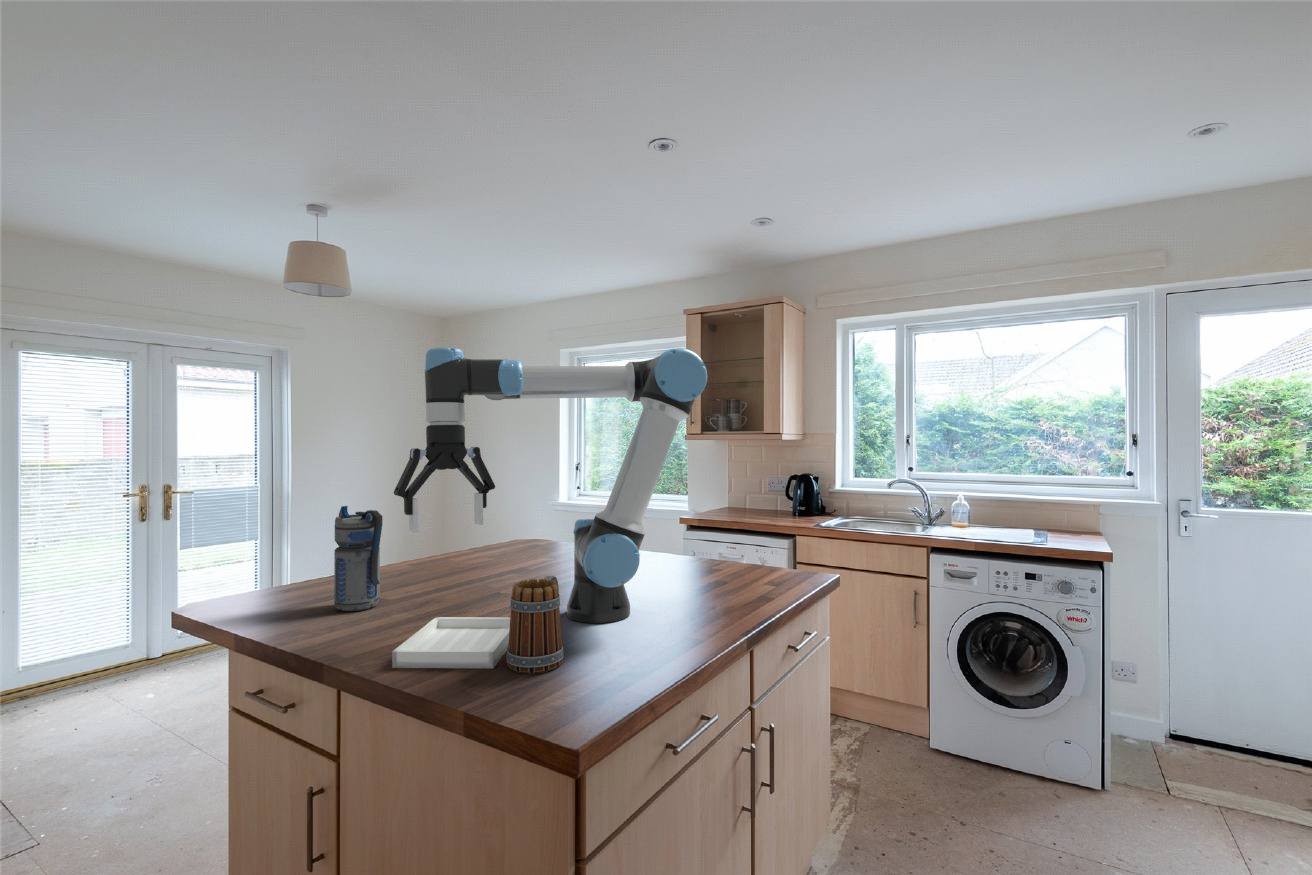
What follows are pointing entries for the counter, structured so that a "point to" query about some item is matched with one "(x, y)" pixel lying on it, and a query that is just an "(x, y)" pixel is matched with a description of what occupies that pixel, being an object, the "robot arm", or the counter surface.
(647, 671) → the counter surface
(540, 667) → the mug
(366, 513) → the grey blue grenade canister
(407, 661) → the white tray
